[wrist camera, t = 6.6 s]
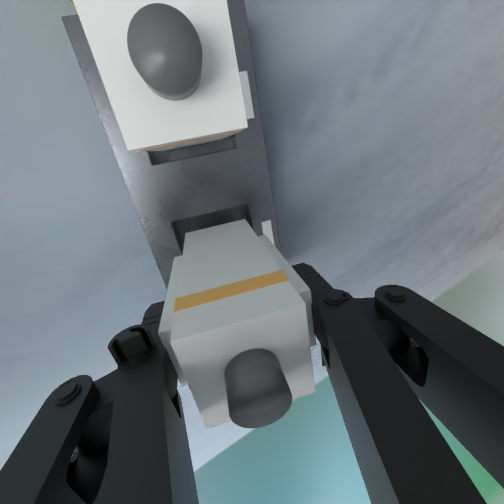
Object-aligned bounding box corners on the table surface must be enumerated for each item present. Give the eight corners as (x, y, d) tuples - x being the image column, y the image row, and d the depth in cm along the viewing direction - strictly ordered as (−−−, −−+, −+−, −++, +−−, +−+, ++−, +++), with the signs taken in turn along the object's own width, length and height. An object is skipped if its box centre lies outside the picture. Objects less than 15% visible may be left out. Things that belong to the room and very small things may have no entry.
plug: (201, 285, 17) (208, 470, 7) (185, 232, 16) (163, 378, 6) (255, 270, 18) (332, 426, 8) (245, 218, 16) (325, 329, 6)
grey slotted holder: (179, 291, 22) (176, 315, 19) (89, 45, 15) (59, 15, 12) (273, 265, 23) (285, 284, 20) (233, 25, 16) (243, -7, 13)
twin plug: (164, 151, 17) (116, 151, 7) (142, 82, 15) (37, -56, 5) (221, 140, 17) (256, 124, 7) (206, 72, 16) (226, -72, 6)
